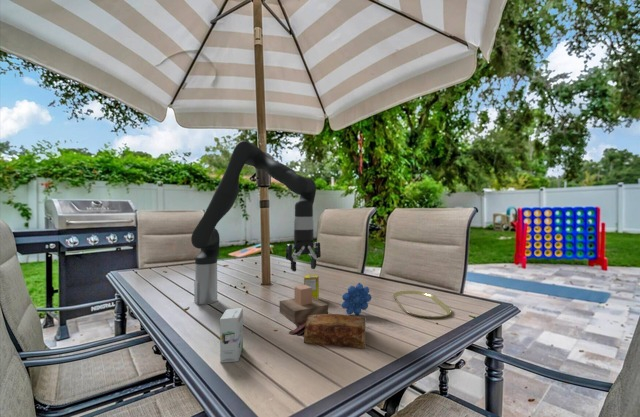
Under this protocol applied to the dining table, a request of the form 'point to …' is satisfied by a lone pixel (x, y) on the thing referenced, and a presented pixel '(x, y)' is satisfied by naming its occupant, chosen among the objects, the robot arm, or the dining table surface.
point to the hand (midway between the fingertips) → (303, 269)
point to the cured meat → (333, 330)
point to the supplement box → (313, 284)
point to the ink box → (231, 335)
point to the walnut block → (302, 309)
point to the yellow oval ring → (427, 296)
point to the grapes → (356, 299)
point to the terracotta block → (303, 295)
